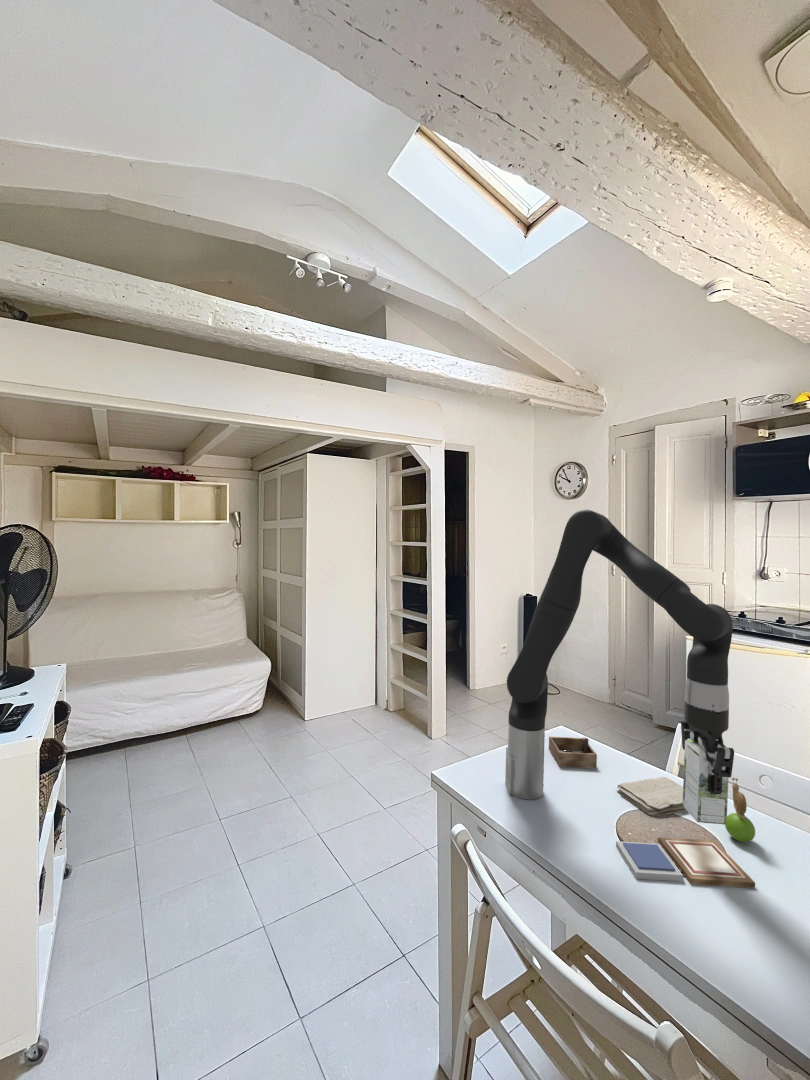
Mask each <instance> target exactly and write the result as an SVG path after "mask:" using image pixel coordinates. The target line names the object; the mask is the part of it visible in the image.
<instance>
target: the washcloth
mask: <svg viewBox="0 0 810 1080" xmlns="http://www.w3.org/2000/svg"><path fill="white" fill-rule="evenodd" d="M617 788H618V789H617V791H616V793H618V794H620V796H622V798H624V799H625V800H627V801H628V803H631V804H632V805H634V806H635V807H637V808H638V809H639V810H640V811H642V812H643V813H644V814H646V815H648V816H655V817H658V816H666V815H671V814H675V813H676V814H677V813H680V812H681V813H682V812H684V811H686V812H687V810H686V809H685V808H684V807H683V785H680V784H679V783H677V782H675V781H674V780H672V779H670V778H669V777H667V776H661V777H655V778H654V777H653V778H647V779H640V780H637V781H636V780H635V781H629V782H622V783H618V785H617Z"/></svg>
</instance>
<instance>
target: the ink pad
mask: <svg viewBox="0 0 810 1080" xmlns="http://www.w3.org/2000/svg"><path fill="white" fill-rule="evenodd" d="M615 847H616V848H617V851H618V852H619V854H620V855H621V858H623V860H624V863H625V864H626V865H627V867H628V869H629V871H630V872H631V873H632V875H633V876H634V879H640V880H641V879H642V880H654V881H656V880H657V881H668V882H669V881H671V882H684V875H683V874H682V873H681V871H680V870H679V869H678V867H677V866H676V865H675V863H674V862H673V861H672V859H671V858H670V857H669V856H668V854H667V853H666V852H665V850H664V849H663V848H662V846H661V845H660V844H659V843H651V842H638V841H637V842H635V841H621V840H620V841H618V840H616V841H615Z"/></svg>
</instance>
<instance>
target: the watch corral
mask: <svg viewBox="0 0 810 1080" xmlns="http://www.w3.org/2000/svg"><path fill="white" fill-rule="evenodd" d="M584 739H585V737H584V738H583V737H570V736H569V737H565V736H562V737H561V736H548V751H549V750H550V751H549V752H550V754H551V755H552V758H553V757H554V758H553V760H554V761H555V762H557V763H556V764H557V766H558V767H560V766H565V767H564V768H582V769H597V765H598V764H597V761H598V755H597V753H596V752H595V750H594V749H593V748H592V746H591V745H590V743H588V750H587V753H582V746H583V742H584ZM560 750H569V751H574V752H576V753H574V752H563V751H560ZM577 751H580V752H577Z"/></svg>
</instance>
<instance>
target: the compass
mask: <svg viewBox="0 0 810 1080" xmlns="http://www.w3.org/2000/svg"><path fill="white" fill-rule="evenodd" d="M582 738H584V742H583V746H582V752H581V753H587V750H588V744H589V739H588V738H587V737H582ZM562 752H574V753H577V751H569V750H566V751H562Z"/></svg>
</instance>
